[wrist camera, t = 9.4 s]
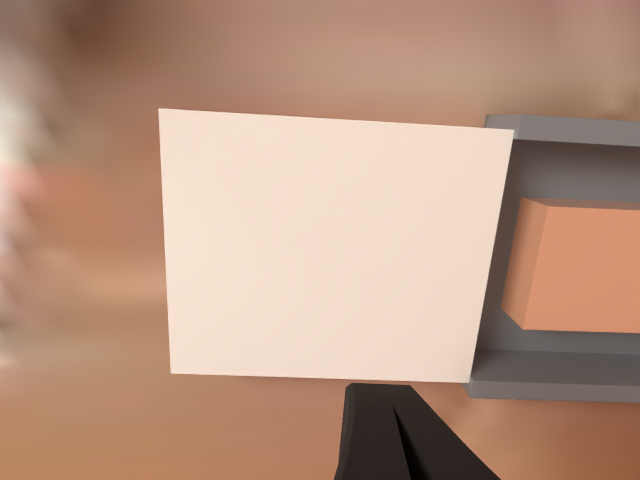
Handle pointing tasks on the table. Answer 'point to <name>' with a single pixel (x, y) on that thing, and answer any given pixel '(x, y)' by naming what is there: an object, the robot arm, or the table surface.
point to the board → (327, 244)
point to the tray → (495, 325)
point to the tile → (575, 266)
